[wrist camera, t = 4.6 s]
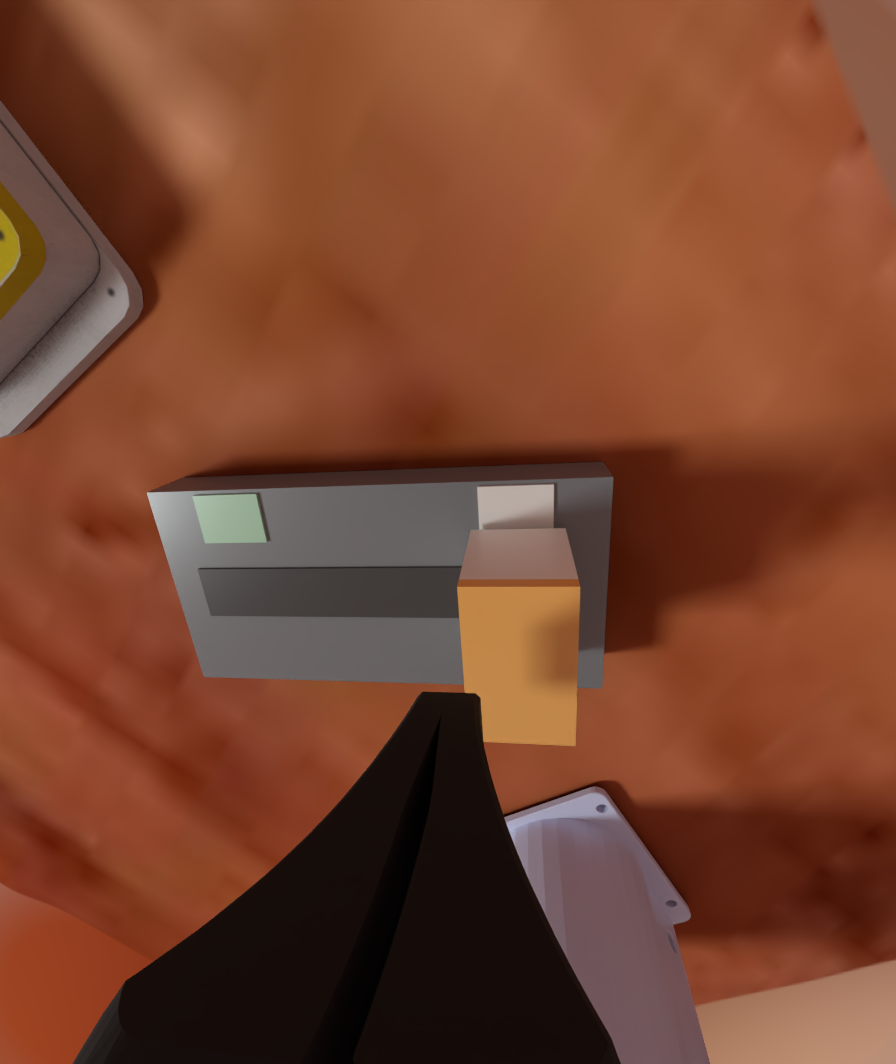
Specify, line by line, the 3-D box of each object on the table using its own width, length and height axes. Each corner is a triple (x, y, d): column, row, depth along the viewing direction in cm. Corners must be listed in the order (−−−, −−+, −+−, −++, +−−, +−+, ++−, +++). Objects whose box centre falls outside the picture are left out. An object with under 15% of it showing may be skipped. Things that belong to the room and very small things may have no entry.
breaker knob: (565, 528, 15) (580, 586, 12) (563, 660, 17) (575, 746, 14) (470, 529, 16) (456, 586, 12) (478, 658, 18) (468, 741, 14)
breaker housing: (603, 461, 17) (614, 477, 15) (594, 655, 20) (602, 690, 18) (182, 477, 19) (144, 493, 17) (230, 648, 22) (202, 678, 20)
